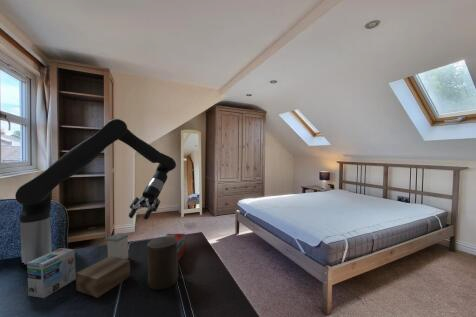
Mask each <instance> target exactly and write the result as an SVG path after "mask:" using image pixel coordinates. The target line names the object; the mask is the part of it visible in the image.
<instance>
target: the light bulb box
mask: <svg viewBox="0 0 476 317" xmlns="http://www.w3.org/2000/svg"><path fill="white" fill-rule="evenodd" d="M26 269H27V288H28V289H27V292H28V293H27V294H28V295H27V296H28V297H34V298H40V299H45V298H47V297H48V296H51V295H52V294H53V293H55V292H57V291H58V290H60V289H61V288H63V287H66V286H67V285H69V284H70V283H72V282H73V281H76V273H77V272H76V251H75V249H70V248H62V247H59V248H58V249H56V250H52V252H50V253H48V254H46V255H44V256H41V257H39V258H37V259H34V260H32V261H30V262H27V264H26Z"/></svg>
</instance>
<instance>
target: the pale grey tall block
mask: <svg viewBox="0 0 476 317" xmlns="http://www.w3.org/2000/svg"><path fill="white" fill-rule="evenodd" d="M128 235H129V234H127V233H115V234H113V235H111V236H109V237H106V243H107V257H109V256H113V257H117V258H122V259H126V260H128V259H129V241H128V237H129V236H128Z"/></svg>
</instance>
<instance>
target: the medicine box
mask: <svg viewBox="0 0 476 317" xmlns="http://www.w3.org/2000/svg"><path fill="white" fill-rule="evenodd" d="M164 237H174V238H176V239H177V260H178V262H179V261H180V259H181V258H182V257H183V255H184V253H185V252H186V233H167V234H166V235H165V236H164ZM184 251H185V252H184Z"/></svg>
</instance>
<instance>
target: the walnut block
mask: <svg viewBox="0 0 476 317" xmlns="http://www.w3.org/2000/svg"><path fill="white" fill-rule="evenodd" d="M129 278H131V260H129V259H122V258H117V257H113V256H109V257H108V256H107V257H106V258H104V259H102V260H99V261H97V262H95V263H94V264H91V265H90V266H88V267H85V268H84V269H82V270H80V271H77V272H76V279H75V282H76V284H75V285H76V286H75V287H76V288H75V289H76V291H77V292H79V293H83V294H85V295H88V296H92V297H94V298H97V299H99V297H101V296H102V295H104V294H106V293H107V292H109V291H110V290H111V289H113V288H115V287H116V286H118V285H120V283H122V282H124V281H125V280H127V279H129Z"/></svg>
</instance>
